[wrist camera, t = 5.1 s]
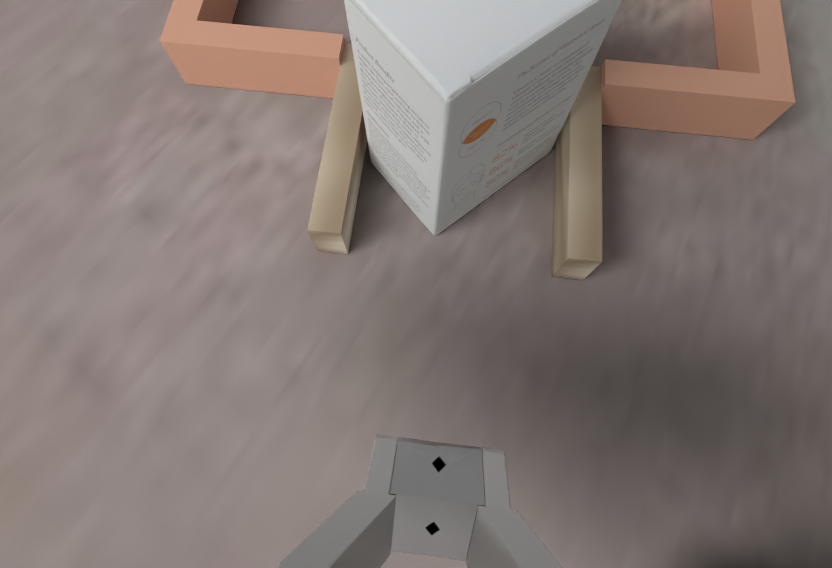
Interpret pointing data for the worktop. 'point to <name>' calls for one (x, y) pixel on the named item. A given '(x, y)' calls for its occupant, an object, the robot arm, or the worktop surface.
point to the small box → (468, 90)
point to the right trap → (710, 80)
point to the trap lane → (573, 175)
